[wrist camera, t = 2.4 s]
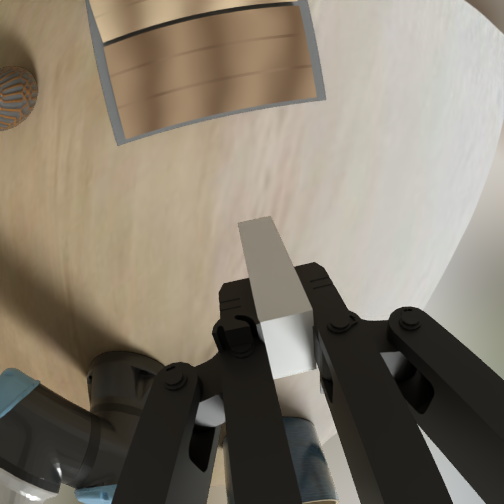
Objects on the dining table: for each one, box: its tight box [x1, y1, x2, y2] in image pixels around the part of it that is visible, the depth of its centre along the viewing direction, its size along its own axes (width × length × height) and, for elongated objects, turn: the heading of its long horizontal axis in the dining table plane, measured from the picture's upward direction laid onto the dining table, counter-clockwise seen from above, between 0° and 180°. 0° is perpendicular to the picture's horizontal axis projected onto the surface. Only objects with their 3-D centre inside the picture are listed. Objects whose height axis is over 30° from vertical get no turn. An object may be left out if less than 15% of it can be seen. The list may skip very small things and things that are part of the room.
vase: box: [0, 66, 38, 131], centre depth 20 cm, size 7×7×9 cm
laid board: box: [104, 5, 317, 139], centre depth 25 cm, size 19×10×2 cm, turn 100°
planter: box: [223, 417, 339, 504], centre depth 53 cm, size 22×22×20 cm
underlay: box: [86, 0, 326, 146], centre depth 24 cm, size 22×21×1 cm
